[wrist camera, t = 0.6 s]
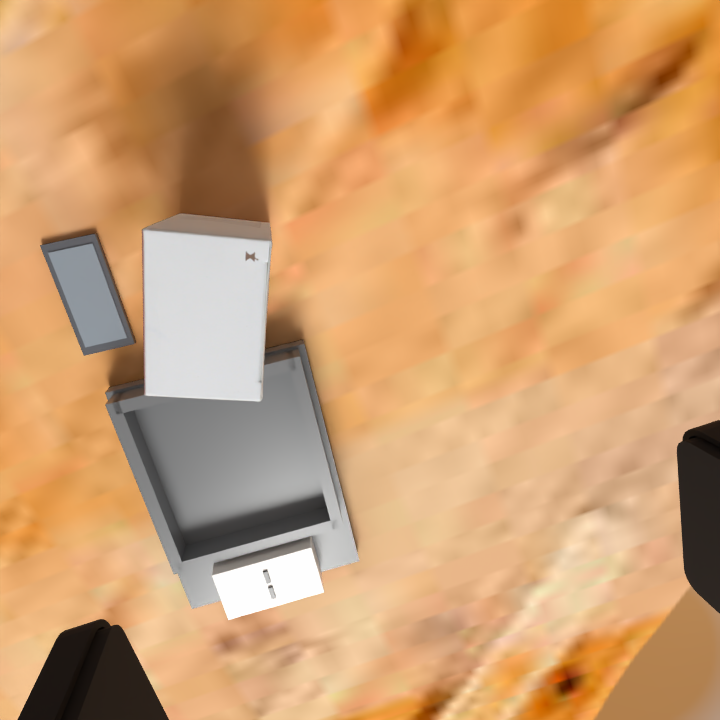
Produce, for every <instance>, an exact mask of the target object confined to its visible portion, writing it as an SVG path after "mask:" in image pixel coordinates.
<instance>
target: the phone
mask: <svg viewBox="0 0 720 720" xmlns="http://www.w3.org/2000/svg"><path fill="white" fill-rule="evenodd" d="M40 247H41V249H42V252H43V254H44V257H45V259H46V262H47V264H48V267H49V269H50V272H51V274H52V277H53V279H54V282H55V284H56V287H57V289H58V292H59V294H60V297H61V299H62V302H63V304H64V307H65V309H66V312H67V314H68V317H69V319H70V322H71V324H72V327H73V329H74V332H75V334H76V337H77V339H78V342H79V345H80V347H81V350H82V352H83V355H89V354H93V353H97V352H102V351H106V350H110V349H115V348H119V347H123V346H127V345H132V344H135V343H136V340H135V337H134V335H133V332H132V329H131V326H130V324H129V321H128V318H127V315H126V313H125V310H124V307H123V304H122V301H121V299H120V296H119V293H118V290H117V288H116V285H115V282H114V279H113V276H112V274H111V271H110V268H109V265H108V263H107V260H106V257H105V254H104V252H103V249H102V246H101V243H100V240H99V238H98V235H97V233H96V234H91V235H86V236H82V237H77V238H72V239H68V240H63V241H58V242H54V243H49V244H44V245H40Z"/></svg>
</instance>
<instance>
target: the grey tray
mask: <svg viewBox="0 0 720 720" xmlns="http://www.w3.org/2000/svg"><path fill="white" fill-rule="evenodd" d="M105 394H106V396H107V399H108V402H107V403H106V404H105V405H106V408H107V410H108V413H109V415H110V418H111V420H112V423H113V425H114V428H115V430H116V433H117V435H118V437H119V440H120V442H121V445H122V447H123V450H124V452H125V455H126V457H127V460H128V462H129V465H130V467H131V470H132V472H133V474H134V477H135V479H136V482H137V484H138V487H139V489H140V492H141V494H142V497H143V499H144V502H145V504H146V507H147V509H148V511H149V514H150V516H151V519H152V521H153V524H154V526H155V529H156V531H157V534H158V536H159V539H160V541H161V544H162V546H163V549H164V551H165V553H166V556H167V558H168V561H169V563H170V566H171V568H172V571H173V573H174V574H177V573H178V575H179V578H180V580H181V583H182V585H183V588H184V590H185V593H186V595H187V598H188V600H189V603H190V605H191V608H192V609H194V608H197V607H200V606H204V605H207V604H211V603H214V602H218V601H222V604H223V607H224V609H225V612H226V615H227V617H228V620H230V619H233V618H237V617H240V616H244V615H247V614H251V613H254V612H257V611H261V610H264V609H268V608H271V607H275V606H278V605H282V604H285V603H288V602H292V601H295V600H299V599H302V598H306V597H309V596H313V595H316V594H319V593H323V592H324V588H323V580H322V573H321V572H323V571H326V570H330V569H333V568H337V567H340V566H344V565H347V564H351V563H354V562H358V561H359V557H358V553H357V549H356V545H355V541H354V537H353V533H352V529H351V526H350V522H349V518H348V514H347V510H346V506H345V502H344V498H343V494H342V490H341V486H340V482H339V478H338V474H337V470H336V466H335V463H334V459H333V455H332V451H331V447H330V443H329V439H328V435H327V431H326V427H325V423H324V419H323V415H322V411H321V407H320V404H319V400H318V396H317V392H316V388H315V384H314V380H313V376H312V372H311V368H310V364H309V360H308V356H307V352H306V348H305V345H304V341H303V340H300V341H296V342H292V343H288V344H283V345H279V346H275V347H271V348H267V349H265V354H264V374H263V398H262V400H261V401H258V402H257V401H238V400H218V399H198V398H179V397H160V396H146V395H144V379H141V380H137V381H133V382H129V383H125V384H121V385H117V386H113V387H109V389H108V390H107V391H106V392H105Z"/></svg>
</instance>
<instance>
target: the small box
mask: <svg viewBox="0 0 720 720" xmlns="http://www.w3.org/2000/svg"><path fill="white" fill-rule="evenodd" d="M271 249H272V238H271V227H270V223H268V222H258V221H249V220H240V219H231V218H221V217H211V216H202V215H193V214H182V213H180V214H177V215H175V216H172V217H170V218H167V219H165V220H162V221H160V222H157V223H155V224H152V225H150V226H148V227H146V228H144V229H142V264H143V336H144V395H146V396H160V397H179V398H198V399H218V400H238V401H257V402H258V401H261V400H262V398H263V374H264V354H265V338H266V322H267V306H268V291H269V276H270V261H271Z"/></svg>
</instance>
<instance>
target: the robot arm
mask: <svg viewBox="0 0 720 720" xmlns="http://www.w3.org/2000/svg"><path fill="white" fill-rule="evenodd" d="M677 461H678V478H679V494H680V510H681V526H682V543H683V559H684V570H685V574H686V577H687V579H688V581H689V583H690V585H691V586H692V587H693V589H694V590H695V591H696V592H697V593H698V594H699V595H700V596H701V597H702V598H703V599H704V600H705V601H707V602H708V603H709V604H710V605H711V606H712V607H713V608H714V609H715V610H716V611H717V612H719V613H720V420H718V421H715V422H711V423H708V424H705V425H702V426H699V427H696V428H693V429H690V430H688V431H686V432H685V434H684V436H683V441H682V442H680V443H679V444H678V446H677ZM18 720H169V719H168V717H167V715H166V713H165V711H164V709H163V707H162V705H161V703H160V701H159V699H158V697H157V695H156V693H155V691H154V689H153V687H152V685H151V684H150V682H149V680H148V678H147V676H146V674H145V672H144V670H143V668H142V666H141V664H140V662H139V660H138V658H137V656H136V654H135V652H134V650H133V648H132V646H131V644H130V642H129V640H128V638H127V636H126V634H125V632H124V631H123V629H122V628H121V627H120V626H119V625H113V626H110V624H109V623H108V622H107V621H106V620H104V619H99V620H96V621H93V622H90V623H87V624H84V625H81V626H78V627H75V628H71V629H68V630H65V631H64V632H62V633H61V634H60V635H59V636H58V638H57V639H56V641H55V643H54V645H53V647H52V649H51V652H50V654H49V656H48V658H47V660H46V662H45V664H44V666H43V668H42V670H41V672H40V674H39V676H38V679H37V681H36V683H35V685H34V687H33V689H32V691H31V693H30V695H29V697H28V699H27V701H26V703H25V705H24V708H23V710H22V712H21V714H20V716H19V718H18Z"/></svg>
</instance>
